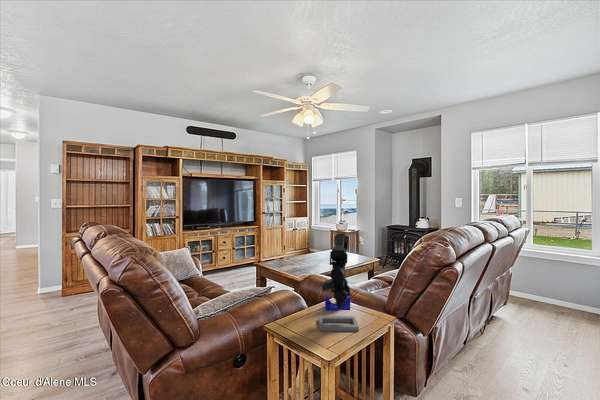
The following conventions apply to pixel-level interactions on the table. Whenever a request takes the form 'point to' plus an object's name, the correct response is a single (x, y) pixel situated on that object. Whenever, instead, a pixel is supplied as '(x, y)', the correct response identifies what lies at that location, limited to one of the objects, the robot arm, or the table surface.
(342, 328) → the gray rectangular open frame
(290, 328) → the table surface
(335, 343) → the table surface
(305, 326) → the table surface
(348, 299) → the blue curved bracket
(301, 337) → the table surface
